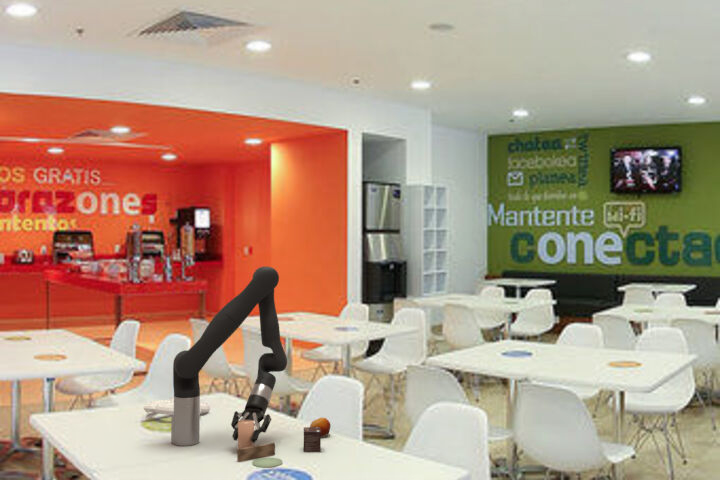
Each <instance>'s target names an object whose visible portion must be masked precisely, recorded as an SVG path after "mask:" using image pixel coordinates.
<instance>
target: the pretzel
mask: <svg viewBox="0 0 720 480" xmlns="http://www.w3.org/2000/svg"><path fill="white" fill-rule="evenodd" d="M143 410H144V412H146V413H156V414H159V415H160V414H161V415H168V416H174V397H172V398H170V399H168V400H165V399H162V400H154V401H151V402H150V403H147V404H145V405H144V406H143ZM210 410H211V406H210V404H209V403H207V402H206V403H205V402H201V401H200V415H201V414H205V413H208V412H210Z"/></svg>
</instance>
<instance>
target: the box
mask: <svg viewBox="0 0 720 480" xmlns="http://www.w3.org/2000/svg"><path fill="white" fill-rule="evenodd" d="M321 439H322V437H321V429H320V427H310V426H309V427H308V426H307V427H306V426H304V427H303V452H304V453H320V452H321V443H322V442H321V441H322V440H321Z"/></svg>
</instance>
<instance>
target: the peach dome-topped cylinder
mask: <svg viewBox="0 0 720 480" xmlns="http://www.w3.org/2000/svg"><path fill="white" fill-rule="evenodd" d="M239 420H240V419H239ZM254 430H255V426H254V421H253V420H240V421H238V439H237V449H241V448H247V447H252V446H255V443H253V442H252V441H251V438H252V436H253V433H254Z"/></svg>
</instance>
